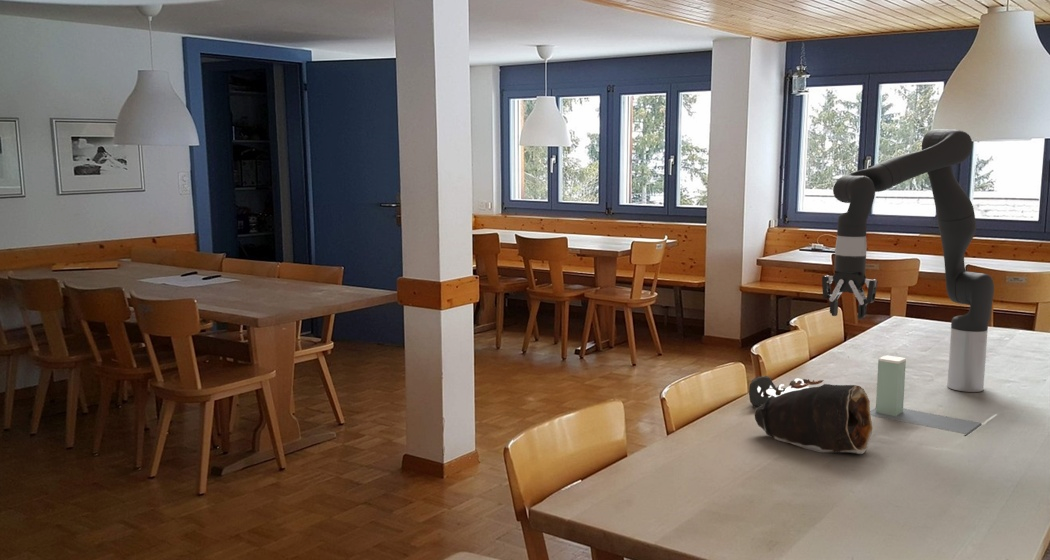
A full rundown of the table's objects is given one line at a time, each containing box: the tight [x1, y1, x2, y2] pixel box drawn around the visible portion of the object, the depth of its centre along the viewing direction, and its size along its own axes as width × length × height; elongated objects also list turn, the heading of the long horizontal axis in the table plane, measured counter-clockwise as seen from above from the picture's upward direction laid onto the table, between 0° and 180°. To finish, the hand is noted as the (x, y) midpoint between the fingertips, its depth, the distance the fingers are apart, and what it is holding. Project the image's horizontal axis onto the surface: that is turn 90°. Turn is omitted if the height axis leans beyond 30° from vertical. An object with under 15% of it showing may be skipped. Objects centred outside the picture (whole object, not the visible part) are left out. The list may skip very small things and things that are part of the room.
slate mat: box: [870, 407, 983, 437], centre depth 215 cm, size 12×24×1 cm, turn 47°
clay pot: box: [754, 383, 873, 455], centre depth 197 cm, size 15×15×25 cm
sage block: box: [875, 354, 907, 416], centre depth 219 cm, size 5×5×14 cm
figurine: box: [748, 375, 824, 408], centre depth 225 cm, size 14×10×18 cm
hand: (847, 317), depth 225 cm, fingers open, 6 cm apart
